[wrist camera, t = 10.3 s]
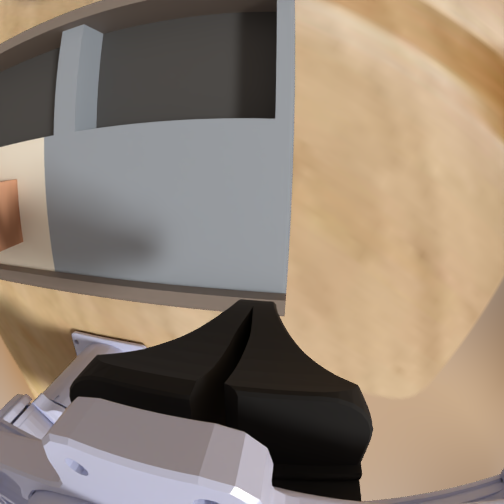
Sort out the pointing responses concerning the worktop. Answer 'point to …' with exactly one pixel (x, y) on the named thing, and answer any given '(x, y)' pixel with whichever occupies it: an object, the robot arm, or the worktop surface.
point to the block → (9, 215)
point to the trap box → (153, 151)
